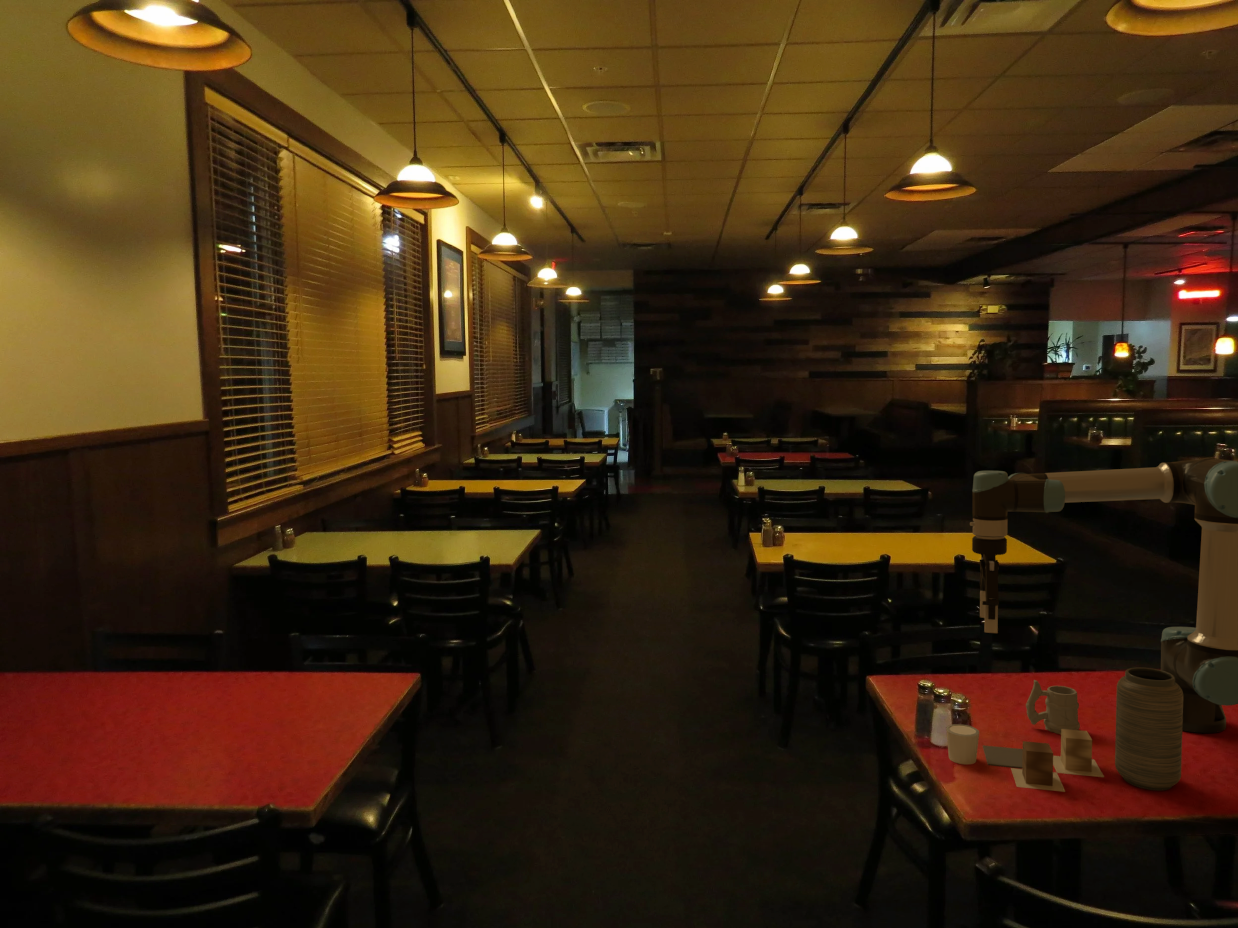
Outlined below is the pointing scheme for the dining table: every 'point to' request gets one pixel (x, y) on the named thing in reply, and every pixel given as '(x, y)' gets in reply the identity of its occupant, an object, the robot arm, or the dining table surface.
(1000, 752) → the slate coaster
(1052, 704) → the mug
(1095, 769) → the maple tile
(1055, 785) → the white marker tile
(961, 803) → the dining table surface
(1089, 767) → the maple block
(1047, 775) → the walnut block
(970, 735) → the beige short cylinder
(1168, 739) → the vase
